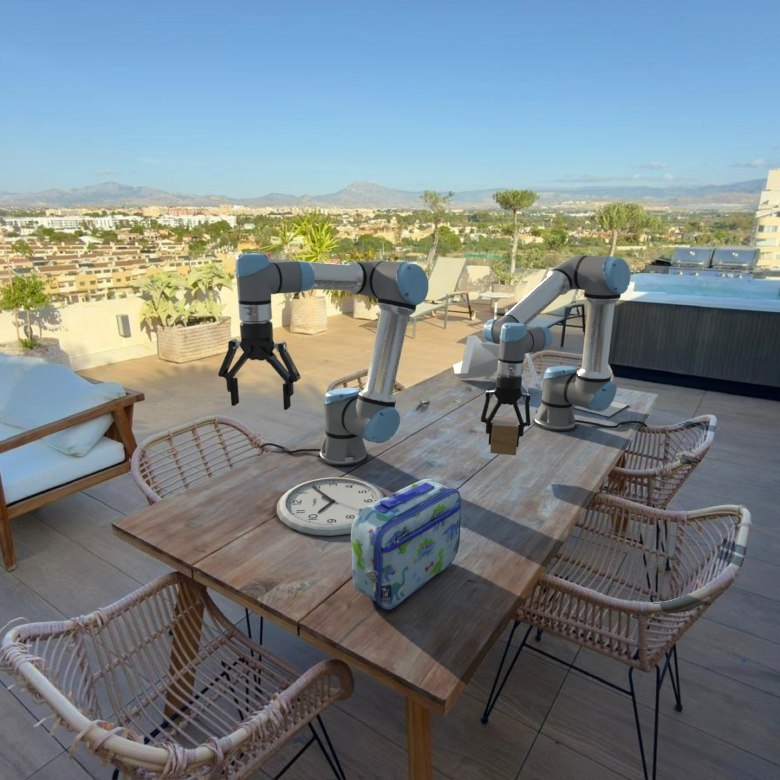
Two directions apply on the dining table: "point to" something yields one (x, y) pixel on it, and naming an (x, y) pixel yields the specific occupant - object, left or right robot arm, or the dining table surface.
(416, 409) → the fork
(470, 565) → the dining table surface
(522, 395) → the right robot arm
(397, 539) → the lunch box
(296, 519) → the wall clock
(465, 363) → the white plastic object
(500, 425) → the brown block
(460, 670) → the dining table surface
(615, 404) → the invitation card
